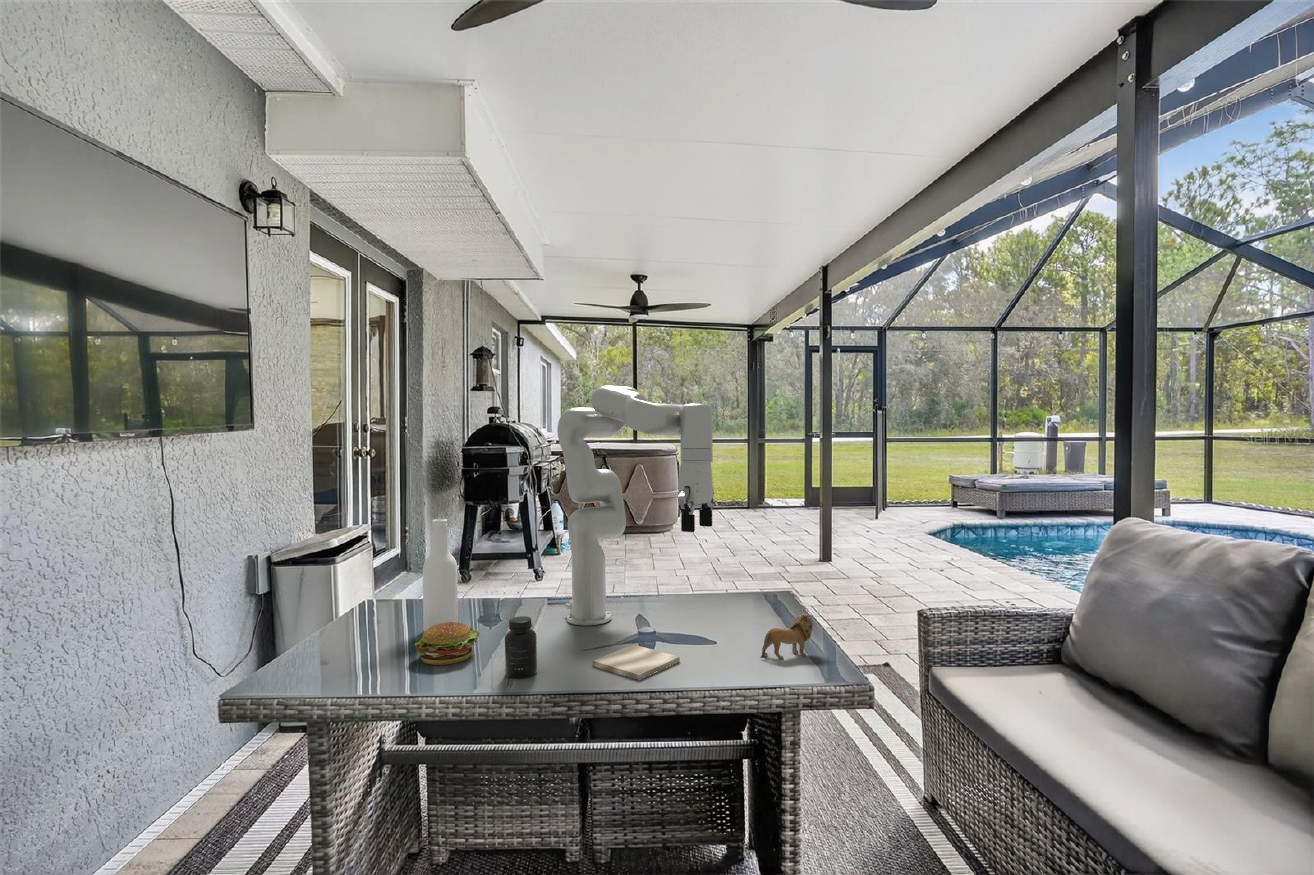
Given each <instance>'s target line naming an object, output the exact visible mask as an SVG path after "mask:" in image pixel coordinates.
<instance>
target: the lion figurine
mask: <svg viewBox="0 0 1314 875" xmlns="http://www.w3.org/2000/svg"><path fill="white" fill-rule="evenodd" d="M813 627H814V621H813V619H812V617H811V615H810V614H808V613H801V614H799V615H798V616H796V621H794V623H793V625H792V626H791V627H789V628H788V627H786V628H781V627H773V628H770V629H769V630H768V631H767V633H766V635H765V636H764V641H763V645H762V648H761V649H762V650H761V656H760V659H764V657H767V656H768V654H769V653H767V652H766V650H767V649H768V648H769V647H770V646H771V645H773V648H774V651H773V654H774V655H775V656H776V658H777V659H778V660H784V656H783V655H780V652H779V650H780V648H781V644H785V645H792V647H791V648H792V650H791V651H792V653H794V654H797V653H798V652H799V654H800V656H801V657H806V656H807V654H806V653H805V652H804V650H805V646H806V645H805V642H807V641H809V639H810V638H811V637H812V632H813ZM797 644H798V646H799V647H798V648H799V650H798V649H797Z"/></svg>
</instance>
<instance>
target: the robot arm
mask: <svg viewBox="0 0 1314 875" xmlns="http://www.w3.org/2000/svg"><path fill="white" fill-rule="evenodd" d="M590 404H591V407H573V408H569V409H567V410H565V411H564V412H562V414H561V415H560V417H559V420H558V423H557V430H556V431H557V438H558V442H559V445H560V449H561V451H562V454H563V459H564V467H565V475H566V482H567V490H568V495H569V498H570V499H571V501H572V502H574V503H575V504H591V503H599V506H592V507H583V508H579V509H576V510H574V511H573V512H572V513H571V514H570V515H569V516H568V520H567V531H568V532H567V533H568V538H569V542H570V550H571V551H570V553H571V599H570V600H568V602H567V603H565V605H564V608H565V609H567V610H569V614H567V615H566V621H567V623H569V624H572V625H575V626H597V625H602V624H605V623H609V622H610V621H611V620H612V613H611V612H610V611H607V602H606V601H607V600H606V599H607V598H606V597H607V590H606V584H607V583H606V555H605V551H604V550H603V547H602V546H601V545H600V542H599V541H603V540H609V539H615V538H618V537H620V536H621V535H623V534H624V532H625V530H626V526H627V516H626V508H625V503H624V502H625V501H624V496H623V490H622V484H621V481H620V478H619V476H618V475H617V474H616V473H615V472H614V471H613V470H611V469H607V468H601V469H598V468H596V464H595V463H596V462H595V455H594V452H593V450H592V448H591V447H590V445H589V443H587V442H586V440H585V438H611V437H613V436H615V435H617V434H618V433H620V431H622V430H623V428H625V427H626V426H627V427H628V428H629V429H631V430H634V431H637V432H640V433H643V434H647V435H651V436H680V464H679V465H680V467H679V473H678V484H677V485H678V486H677V487H678V489H677V491H678V492H677V502H678V504H679V505H678V507H679V511H680V512H679V514H680V525H681V526H680V527H681V528H680V531H681V532H685V533H695V530H696V527H695V526H696V525H695V524H696V523H695V522H696V520H695V518H696V517H695V514H694V511H695V507H696V506H699V507H700V508H699V510H698V512H699V517H698V520H699V524H698V525H699V526H700V527H707V528H708V527H713V508H714V506H713V503H714V494H715V491H714V487H713V486H714V485H713V483H714V482H713V470H712V463H713V458H714V457H713V409H712V406H711V405H710V404H707V403H687V404H673V403H672V404H671V403H654V402H648V400H647V398H646V397H645V395H644V394H642V393H640V391H638V390H637V389H636V388H634V387H631V386H622V385H620V386H619V385H603V386H600V387H598V388H597V389H595V390H594V391H593V393H592V394H591V398H590Z"/></svg>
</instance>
